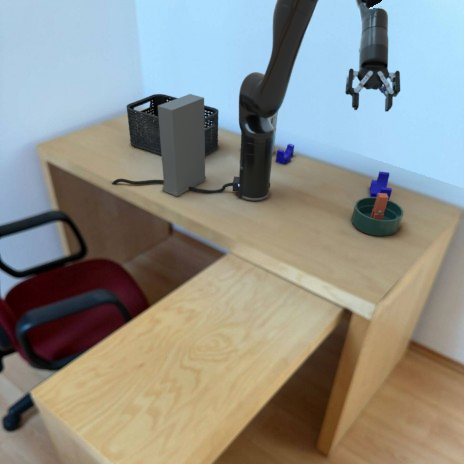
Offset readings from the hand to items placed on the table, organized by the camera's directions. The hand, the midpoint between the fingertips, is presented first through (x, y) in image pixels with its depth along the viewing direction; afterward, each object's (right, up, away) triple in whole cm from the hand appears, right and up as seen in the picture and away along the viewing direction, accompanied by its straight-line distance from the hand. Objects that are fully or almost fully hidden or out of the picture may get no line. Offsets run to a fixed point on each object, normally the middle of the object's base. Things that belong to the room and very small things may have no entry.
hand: (372, 109), depth 119 cm
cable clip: (+7, -20, +16) cm, 27 cm away
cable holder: (-19, -2, +35) cm, 40 cm away
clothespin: (+2, -30, +5) cm, 30 cm away
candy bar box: (-29, +3, +39) cm, 49 cm away
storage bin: (-59, +5, +40) cm, 72 cm away
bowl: (+2, -30, +5) cm, 31 cm away
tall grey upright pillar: (-53, -16, +18) cm, 58 cm away
